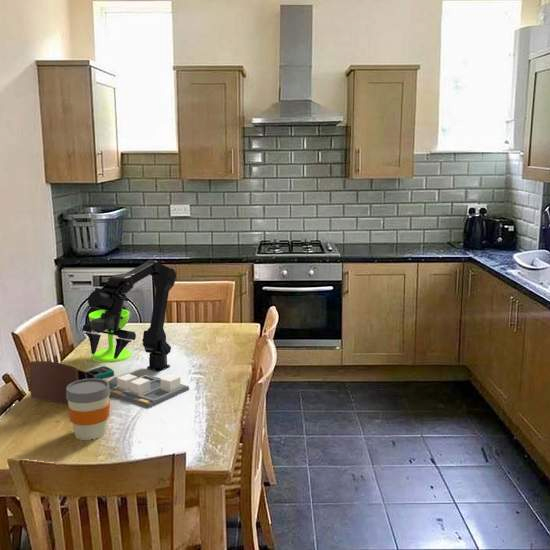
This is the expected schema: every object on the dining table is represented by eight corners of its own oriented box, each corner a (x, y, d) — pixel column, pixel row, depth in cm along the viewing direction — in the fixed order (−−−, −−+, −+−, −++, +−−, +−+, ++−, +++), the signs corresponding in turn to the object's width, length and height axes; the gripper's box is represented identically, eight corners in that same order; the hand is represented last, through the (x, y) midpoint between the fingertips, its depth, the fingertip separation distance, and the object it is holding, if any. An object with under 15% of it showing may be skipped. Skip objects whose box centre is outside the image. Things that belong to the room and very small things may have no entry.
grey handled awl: (115, 384, 222) (111, 378, 222) (120, 382, 222) (117, 375, 221) (94, 399, 209) (91, 393, 209) (100, 397, 208) (97, 390, 208)
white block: (128, 384, 218) (127, 373, 217) (137, 387, 215) (137, 376, 214) (117, 388, 214) (117, 378, 213) (126, 391, 211) (126, 380, 210)
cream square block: (171, 385, 217) (170, 374, 216) (180, 388, 214) (180, 377, 214) (160, 389, 213) (160, 378, 212) (170, 392, 210) (170, 381, 210)
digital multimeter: (115, 376, 231) (115, 368, 230) (80, 387, 220) (80, 379, 219) (104, 371, 235) (104, 364, 235) (69, 382, 224) (69, 375, 224)
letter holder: (78, 407, 202) (75, 366, 199) (30, 398, 209) (27, 359, 206) (97, 396, 211) (94, 357, 209) (50, 388, 218) (47, 350, 215)
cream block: (141, 388, 214) (140, 377, 213) (150, 391, 212) (150, 380, 211) (130, 392, 210) (129, 381, 209) (139, 395, 208) (139, 384, 207)
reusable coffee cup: (88, 446, 175) (85, 397, 172) (59, 436, 181) (56, 388, 178) (121, 430, 185) (118, 383, 182) (92, 420, 192) (89, 375, 189)
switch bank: (148, 378, 228) (148, 373, 227) (189, 389, 216) (188, 384, 216) (108, 394, 212) (108, 389, 212) (149, 407, 201) (149, 402, 201)
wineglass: (139, 355, 253) (137, 313, 249) (106, 365, 241) (103, 321, 237) (116, 347, 263) (114, 306, 260) (83, 356, 251) (80, 314, 248)
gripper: (76, 305, 209) (67, 350, 207) (122, 312, 202) (112, 359, 200) (96, 309, 219) (87, 352, 217) (140, 316, 213) (131, 361, 211)
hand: (103, 356), depth 211 cm, fingers open, 9 cm apart
